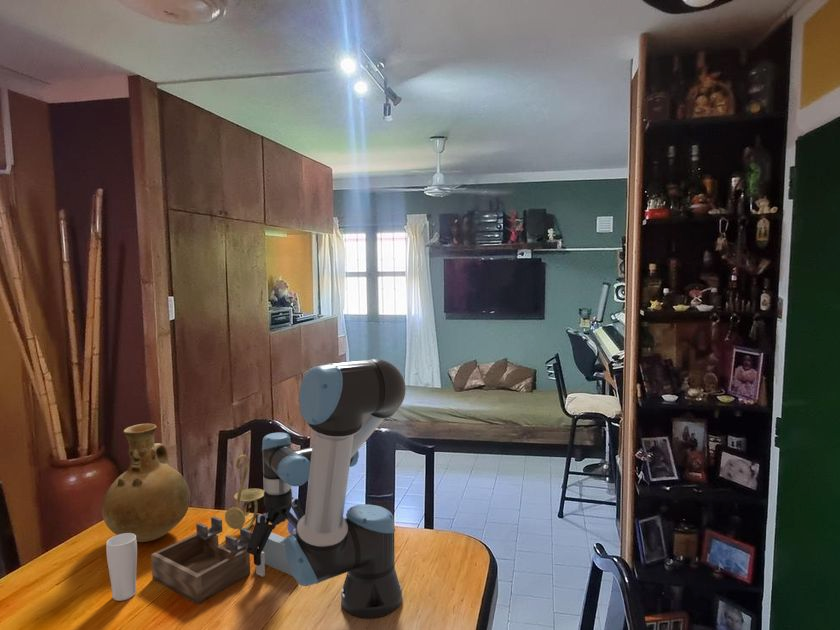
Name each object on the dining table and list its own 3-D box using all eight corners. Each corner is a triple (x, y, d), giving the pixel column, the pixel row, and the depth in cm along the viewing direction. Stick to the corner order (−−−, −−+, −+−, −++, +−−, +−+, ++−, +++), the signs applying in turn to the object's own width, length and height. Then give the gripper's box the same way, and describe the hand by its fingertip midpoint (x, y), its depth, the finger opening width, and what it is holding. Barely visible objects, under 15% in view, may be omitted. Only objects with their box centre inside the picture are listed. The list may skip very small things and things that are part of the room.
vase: (139, 518, 181) (133, 415, 177) (206, 522, 177) (202, 417, 174) (85, 555, 157) (78, 438, 154) (162, 561, 154) (156, 441, 151)
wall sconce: (249, 542, 164) (246, 462, 162) (221, 538, 166) (218, 459, 164) (271, 521, 178) (269, 447, 176) (245, 518, 180) (242, 445, 178)
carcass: (256, 569, 149) (255, 533, 148) (198, 604, 134) (196, 563, 133) (211, 549, 160) (210, 514, 159) (152, 579, 145) (150, 541, 144)
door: (304, 570, 149) (303, 542, 148) (293, 577, 146) (293, 548, 145) (269, 555, 157) (268, 529, 156) (259, 561, 154) (258, 534, 153)
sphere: (308, 541, 164) (307, 519, 164) (285, 541, 164) (284, 519, 164) (312, 530, 171) (312, 509, 171) (290, 530, 171) (290, 509, 171)
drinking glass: (118, 607, 133) (115, 548, 132) (103, 598, 137) (100, 541, 135) (145, 592, 139) (142, 536, 138) (130, 584, 143) (127, 530, 141)
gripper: (301, 472, 161) (302, 540, 163) (231, 502, 141) (233, 580, 143) (319, 477, 157) (321, 547, 159) (250, 510, 137) (252, 589, 139)
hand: (279, 563), depth 151 cm, fingers open, 13 cm apart
